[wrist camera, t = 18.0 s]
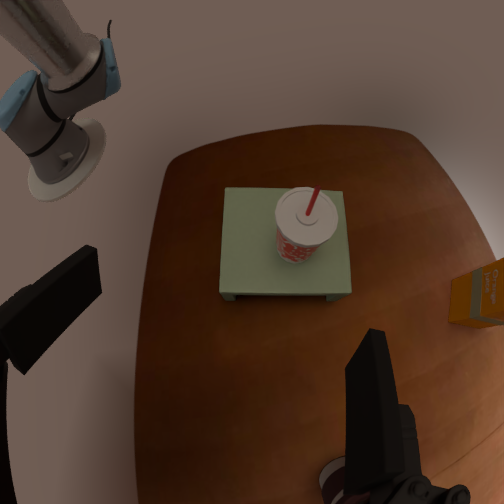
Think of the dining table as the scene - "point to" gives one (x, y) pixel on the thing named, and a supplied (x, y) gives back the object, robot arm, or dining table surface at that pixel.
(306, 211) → the beverage cup
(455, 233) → the dining table surface
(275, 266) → the shelf
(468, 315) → the orange juice
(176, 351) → the dining table surface
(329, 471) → the coffee cup
